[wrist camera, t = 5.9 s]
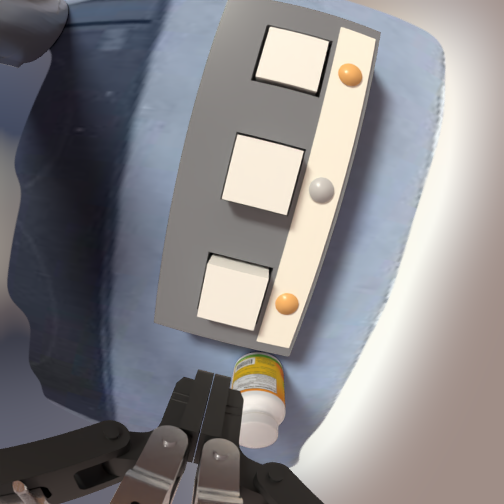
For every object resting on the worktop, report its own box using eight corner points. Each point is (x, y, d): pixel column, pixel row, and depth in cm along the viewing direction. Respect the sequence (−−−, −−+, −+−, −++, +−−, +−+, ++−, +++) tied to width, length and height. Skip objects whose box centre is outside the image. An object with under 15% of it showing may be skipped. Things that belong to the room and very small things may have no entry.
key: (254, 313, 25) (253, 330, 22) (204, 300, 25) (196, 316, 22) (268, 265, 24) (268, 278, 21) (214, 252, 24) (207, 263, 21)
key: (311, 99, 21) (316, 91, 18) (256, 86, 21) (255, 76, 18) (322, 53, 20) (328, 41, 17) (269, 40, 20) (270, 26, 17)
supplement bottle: (274, 391, 32) (274, 456, 23) (229, 381, 32) (217, 446, 23) (290, 356, 31) (295, 423, 21) (240, 345, 30) (231, 411, 21)
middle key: (284, 209, 22) (286, 215, 20) (227, 194, 22) (221, 199, 20) (299, 152, 21) (303, 151, 19) (241, 138, 21) (237, 134, 18)
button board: (286, 327, 30) (289, 359, 24) (170, 298, 29) (152, 324, 24) (363, 51, 22) (382, 30, 16) (236, 19, 21) (229, -8, 16)
